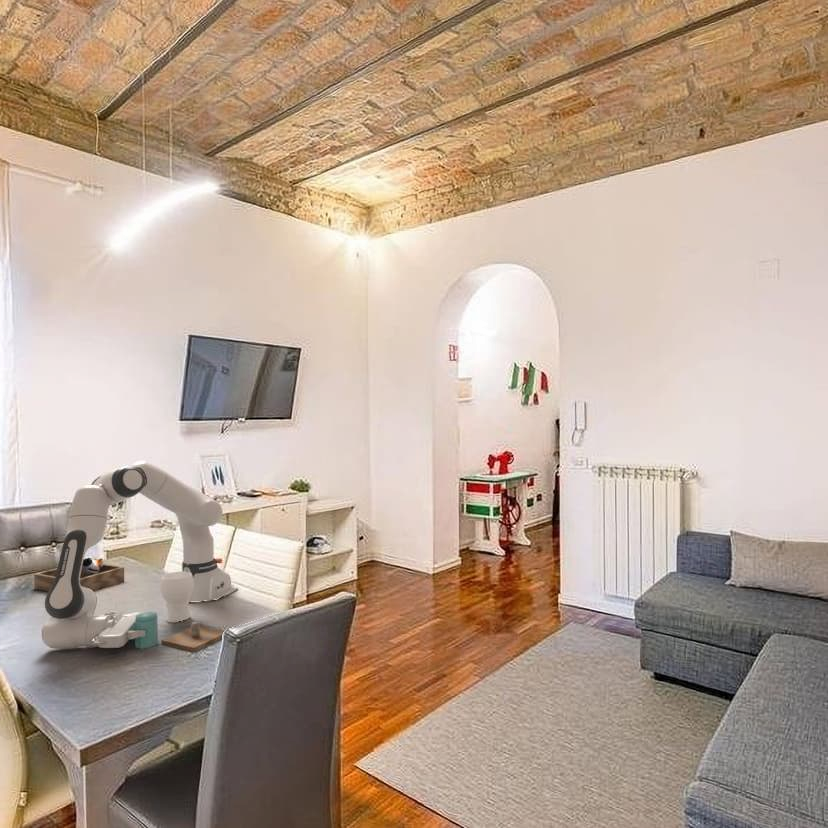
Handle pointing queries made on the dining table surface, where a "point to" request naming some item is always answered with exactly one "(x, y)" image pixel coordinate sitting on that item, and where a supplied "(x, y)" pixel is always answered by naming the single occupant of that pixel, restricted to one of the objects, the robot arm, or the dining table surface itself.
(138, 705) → the dining table surface
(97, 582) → the tray
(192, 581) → the cup
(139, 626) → the teal octagonal jar
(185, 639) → the square wooden board
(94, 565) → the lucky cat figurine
